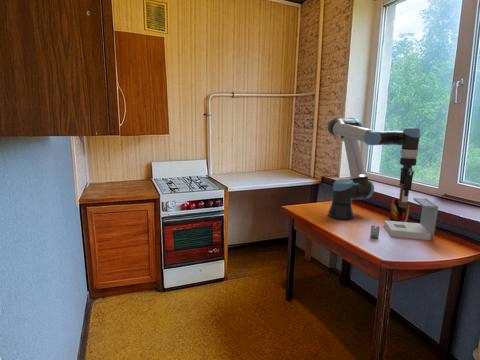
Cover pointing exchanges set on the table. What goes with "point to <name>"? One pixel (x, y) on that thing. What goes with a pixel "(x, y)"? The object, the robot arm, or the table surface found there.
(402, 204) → the walnut dowel
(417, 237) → the socket block
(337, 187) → the robot arm
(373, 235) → the cylinder
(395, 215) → the mug
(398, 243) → the table surface
